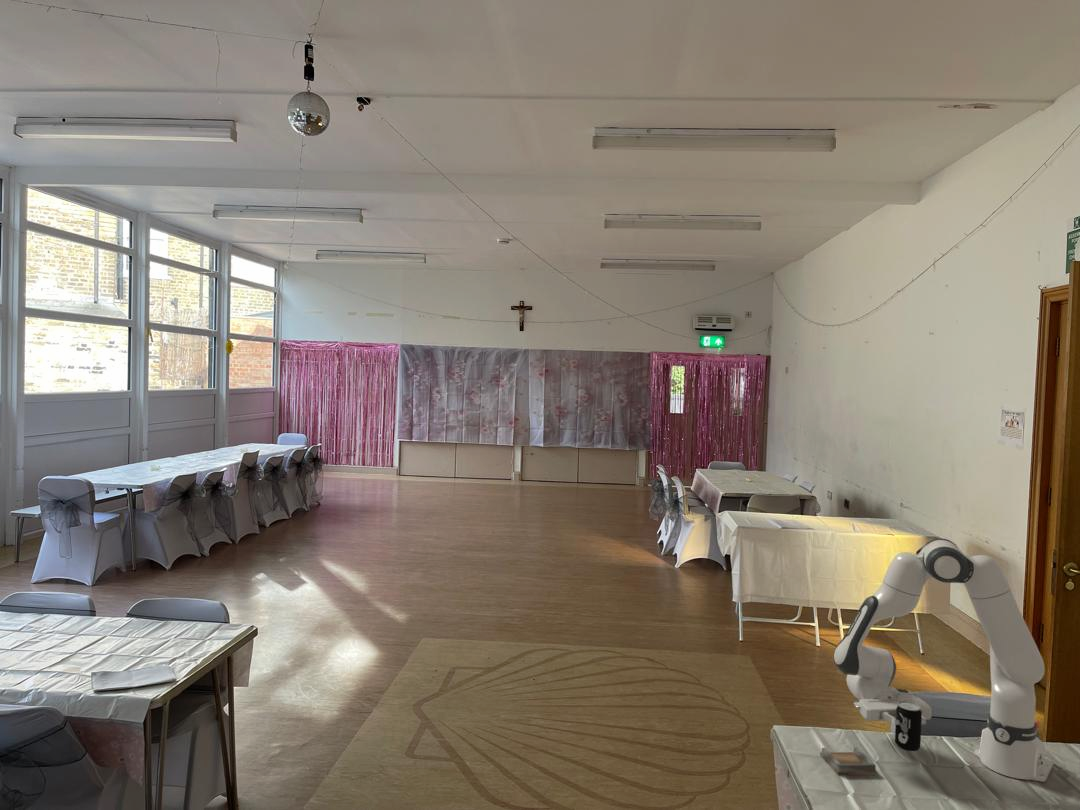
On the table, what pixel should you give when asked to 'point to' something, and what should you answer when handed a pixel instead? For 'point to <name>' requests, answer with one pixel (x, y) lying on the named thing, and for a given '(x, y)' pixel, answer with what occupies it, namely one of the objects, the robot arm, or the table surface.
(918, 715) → the beverage can
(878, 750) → the table surface
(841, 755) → the brown flat square tray
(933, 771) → the table surface
